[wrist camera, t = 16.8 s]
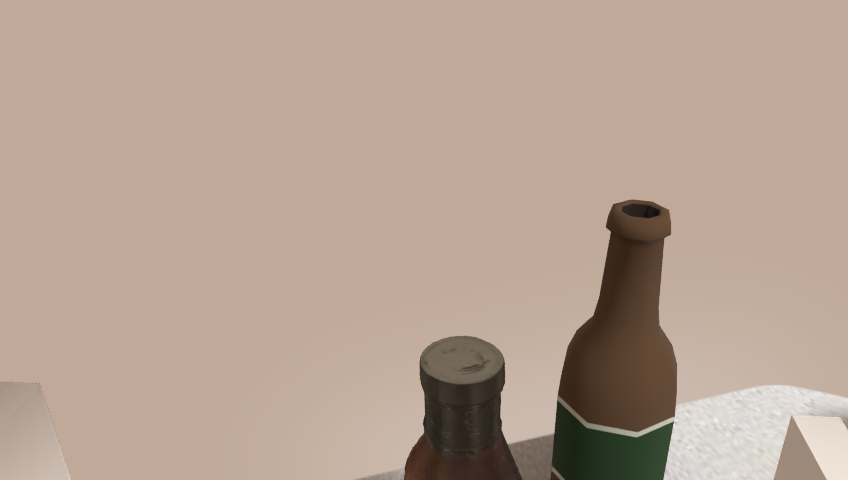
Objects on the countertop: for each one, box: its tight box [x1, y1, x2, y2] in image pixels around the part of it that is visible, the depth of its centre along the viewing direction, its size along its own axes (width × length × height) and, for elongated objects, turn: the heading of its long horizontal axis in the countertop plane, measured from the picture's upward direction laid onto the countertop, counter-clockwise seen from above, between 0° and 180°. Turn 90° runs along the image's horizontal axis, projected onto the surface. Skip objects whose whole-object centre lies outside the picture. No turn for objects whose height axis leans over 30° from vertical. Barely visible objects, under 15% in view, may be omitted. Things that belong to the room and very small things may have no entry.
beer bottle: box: [551, 200, 677, 480], centre depth 46 cm, size 8×8×24 cm
